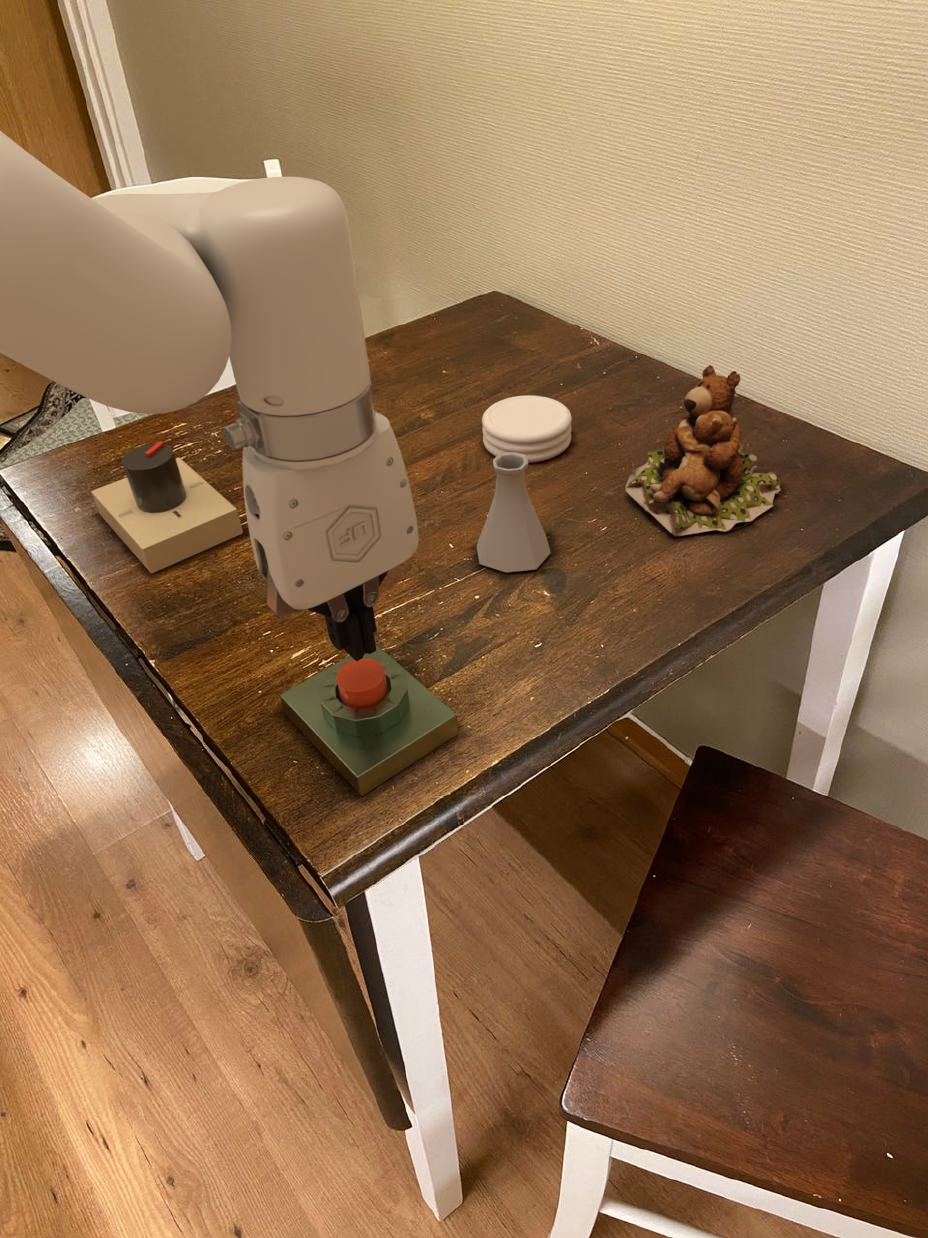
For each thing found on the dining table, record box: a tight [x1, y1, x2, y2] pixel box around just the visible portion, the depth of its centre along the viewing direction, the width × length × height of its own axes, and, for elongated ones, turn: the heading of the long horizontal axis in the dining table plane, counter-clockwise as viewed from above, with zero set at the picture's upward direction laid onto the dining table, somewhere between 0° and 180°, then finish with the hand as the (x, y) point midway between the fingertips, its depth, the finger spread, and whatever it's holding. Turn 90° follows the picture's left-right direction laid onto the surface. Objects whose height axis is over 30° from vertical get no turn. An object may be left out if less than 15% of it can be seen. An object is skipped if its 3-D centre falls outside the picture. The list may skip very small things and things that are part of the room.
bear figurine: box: [625, 364, 782, 537], centre depth 86 cm, size 14×15×12 cm
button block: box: [279, 643, 460, 797], centre depth 67 cm, size 11×9×4 cm
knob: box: [121, 441, 186, 513], centre depth 88 cm, size 5×5×5 cm
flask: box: [476, 452, 551, 573], centre depth 81 cm, size 7×7×10 cm
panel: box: [90, 457, 244, 574], centre depth 91 cm, size 14×10×3 cm
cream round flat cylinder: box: [481, 395, 573, 464], centre depth 99 cm, size 10×10×4 cm
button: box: [337, 658, 388, 708], centre depth 66 cm, size 4×4×2 cm
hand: (355, 646), depth 63 cm, fingers closed
